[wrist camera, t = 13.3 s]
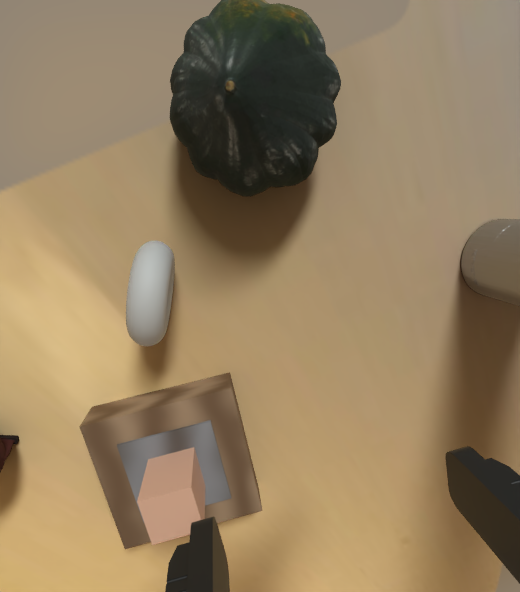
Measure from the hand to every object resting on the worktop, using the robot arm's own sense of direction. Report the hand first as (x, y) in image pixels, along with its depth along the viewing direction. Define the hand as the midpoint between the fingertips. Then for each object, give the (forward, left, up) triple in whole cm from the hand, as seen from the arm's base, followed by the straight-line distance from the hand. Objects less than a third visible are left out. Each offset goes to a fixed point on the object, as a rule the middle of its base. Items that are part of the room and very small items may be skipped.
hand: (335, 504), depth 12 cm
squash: (-4, -18, -30) cm, 36 cm away
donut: (+9, -4, -30) cm, 32 cm away
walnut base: (+12, +16, -30) cm, 36 cm away
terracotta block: (+12, +16, -26) cm, 33 cm away
